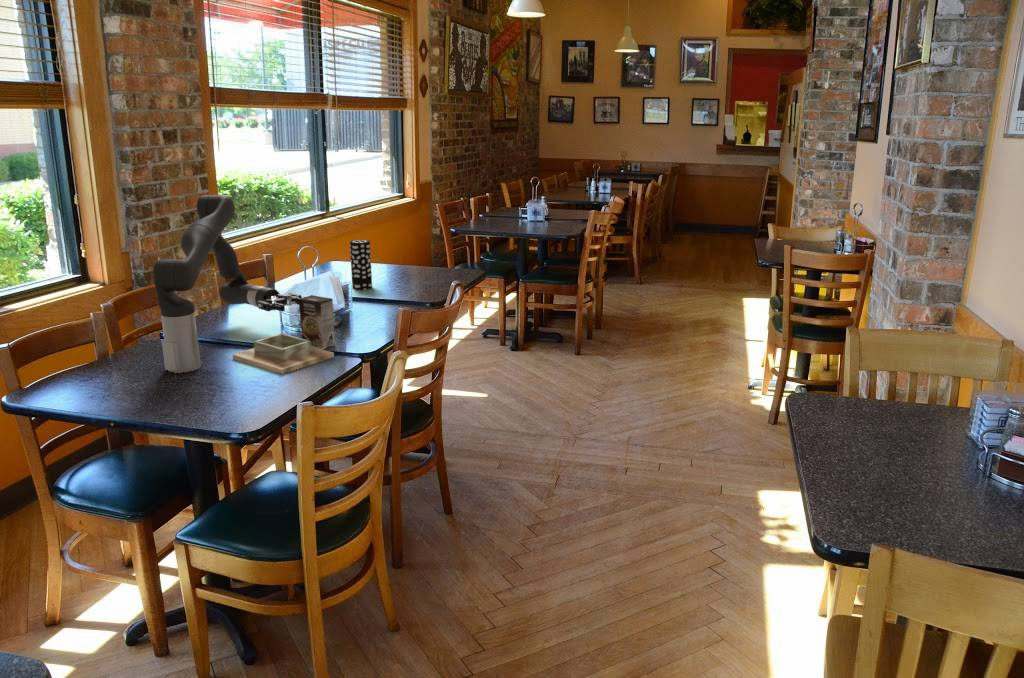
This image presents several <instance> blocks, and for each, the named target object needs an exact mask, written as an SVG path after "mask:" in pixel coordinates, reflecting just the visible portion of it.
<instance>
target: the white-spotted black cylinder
mask: <svg viewBox="0 0 1024 678" xmlns="http://www.w3.org/2000/svg"><path fill="white" fill-rule="evenodd" d="M349 253H350V255H349V256H350V269H351V285H352V289H353V290H354V289H356V290H355V291H368V290H370V289H372V288H373V279H372V277H373V275H372V260H371V258H372V256H371V240H369V239H354V240H350V241H349Z"/></svg>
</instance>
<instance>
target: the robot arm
mask: <svg viewBox="0 0 1024 678" xmlns="http://www.w3.org/2000/svg"><path fill="white" fill-rule="evenodd" d="M235 208H236V205H235V202H234V200H233V199H232V197H231V196H229V195H226V194H204V195H200V196H199V197H198V198H197V201H196V210H197V212H196V213H197V216H198V219H197V220H196V221H194V222H192V223H191V224H190V225H189V226H188V227H187V228H186V229H185V231H184V233H183V235H182V236H181V239H180V246H181V250H182V251H183V253H184V255H185V258H182V259H177V258H176V259H172V258H171V259H170V258H168V259H166V258H165V259H159V260H157V261H156V262H154V264H153V270H152V276H153V283H154V284H153V285H154V288H155V292H156V293H155V294H156V299H157V304H158V308H159V310H160V316H161V317H160V318H161V324H162V333H163V339H161V347H162V349H161V350H162V354H163V362H164V370H165V371H167V370H168V372H170V373H173V372H174V374H176V373H178V374H182V373H183V372H184V373H190V371H191V372H194V371H197V370H199V369H200V368H201V367H202V361H201V354H200V353H201V352H200V346H199V337H198V329H197V328H198V327H197V322H196V321H197V320H196V312H195V305H194V302H192V301H191V300H189V299H185V298H182V297H181V296H180V295H178V294H176V292H186V291H191V289H193V288H194V287H195V284H196V282H197V281H198V278H199V275H200V273H201V270H202V267H203V265H204V263H205V261H206V259H207V258H208V256H209V255H210V252H211V251H213V254H214V258H215V261H216V265H217V269H218V273H219V275H220V277H221V278H222V279H227V280H229V279H231V280H230V281H228V282H226V283H224V284H223V285H221V286H220V287H219V290H218V294H219V298H220V299H221V300H222V301H223V302H225V303H227V304H230V305H244V304H246V305H250V306H253V307H256V308H258V309H259V310H262V311H265V312H271V311H279V312H285V311H286V310H285V306H287V307H289V306H292V305H299V299H300V298H303V297H302V294H297V293H293V292H288V293H287V294H282V293H280V292H279V291H278V290H277V289H275V288H271V287H267V286H264V285H263V286H262V285H255V284H251V283H249V282H248V280H247V279H246V277H245V275H244V274H243V272H242V270H241V268H240V267H241V266H240V264H239V259H238V255H237V253H236V250H235V248H234V247H233V246H232V245H231V244H230V243H229V242H228V241H227V240H226V239H225V237H224V236H223V235H222V233H223V231H224V230H225V229H226V228H227V226H228V225H229V224H230V223H231V222H232V220H233V218H234V215H235V210H236V209H235ZM288 301H289V302H288Z"/></svg>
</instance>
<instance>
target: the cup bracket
mask: <svg viewBox="0 0 1024 678" xmlns="http://www.w3.org/2000/svg"><path fill="white" fill-rule="evenodd" d="M334 357H335V352H334V351H331V350H327V349H324V350H323V349H319V348H315V347H312V346H311V341H309V340H305V339H302V337H297V336H293V335H289V334H286V333H277V334H275V335H271V336H268V337H264V338H262V339H257V340H255V341H253V347H252V348H249V349H246V350H243V351H242V350H241V351H238V352H236V353H233V354H232V359H233V360H236V361H238V362H242V363H244V364H245V363H246V364H249V365H251V366H255V367H258V368H261V369H264V370H267V371H271V372H273V371H274V372H273V373H276V372H277V374H279V373H281V375H285V374H287V373H286V372H288V373H291V372H294V371H297V370H300V369H302V368H306V367H309V366H312V365H314V364H317V363H320V362H321V363H322V362H324V361H326V360H329V359H333V358H334ZM299 368H300V369H299ZM296 369H297V370H296ZM293 370H294V371H293ZM290 371H291V372H290ZM284 373H285V374H284Z"/></svg>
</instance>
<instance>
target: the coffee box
mask: <svg viewBox="0 0 1024 678" xmlns="http://www.w3.org/2000/svg"><path fill="white" fill-rule="evenodd" d="M333 304H334V303H333V298H331V297H325V296H318V295H312V294H311V295H309V296H304V297H302V298H300V299H299V307H298V308H299V317H300V318H299V320H300V331H301V338H302V339H305V340H309V341H311V346H315V347H320V348H324V347H328V346H331V345H334V344H335V345H336V340H335V339H336V338H335V324H334V322H335V321H334V305H333ZM335 345H334V346H335Z"/></svg>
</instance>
